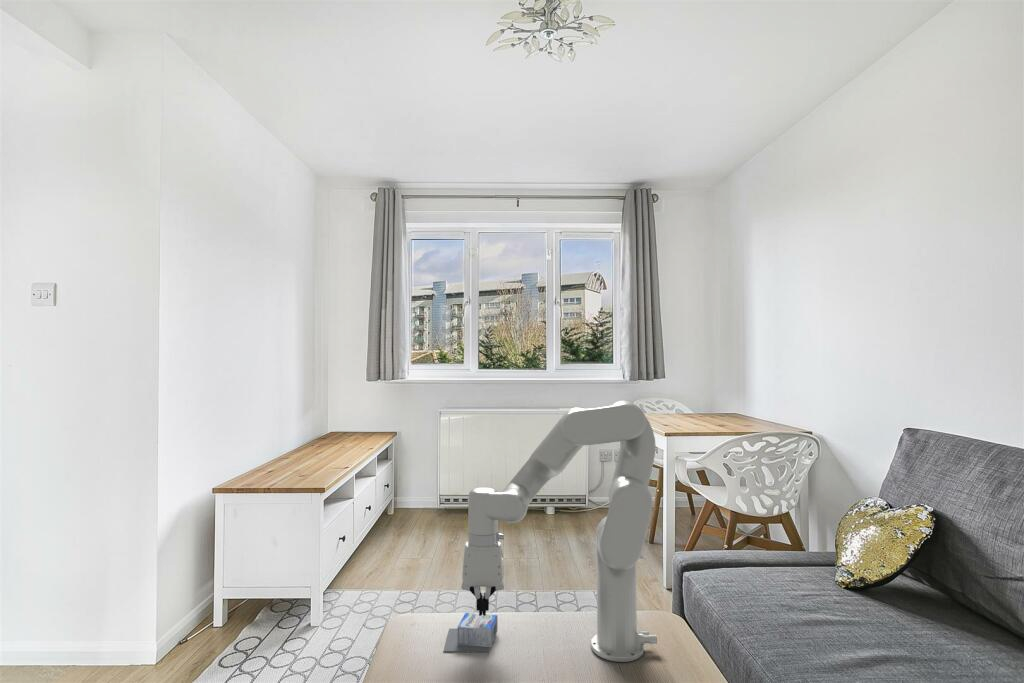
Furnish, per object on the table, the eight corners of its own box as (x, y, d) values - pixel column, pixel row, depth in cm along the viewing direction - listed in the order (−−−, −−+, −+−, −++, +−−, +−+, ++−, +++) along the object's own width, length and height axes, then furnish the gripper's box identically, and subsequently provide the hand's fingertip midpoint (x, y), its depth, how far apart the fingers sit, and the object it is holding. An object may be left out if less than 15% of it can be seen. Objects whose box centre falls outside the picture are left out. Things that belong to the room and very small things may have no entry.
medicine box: (491, 629, 129) (457, 626, 131) (491, 648, 129) (456, 645, 130) (497, 614, 137) (465, 611, 138) (497, 632, 137) (464, 629, 138)
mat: (491, 629, 138) (491, 628, 139) (489, 652, 128) (489, 651, 128) (449, 629, 139) (449, 628, 139) (443, 652, 128) (443, 650, 128)
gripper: (512, 534, 137) (512, 606, 137) (455, 533, 138) (454, 606, 137) (512, 543, 130) (512, 620, 129) (451, 543, 130) (450, 620, 129)
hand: (482, 613), depth 133 cm, fingers closed
